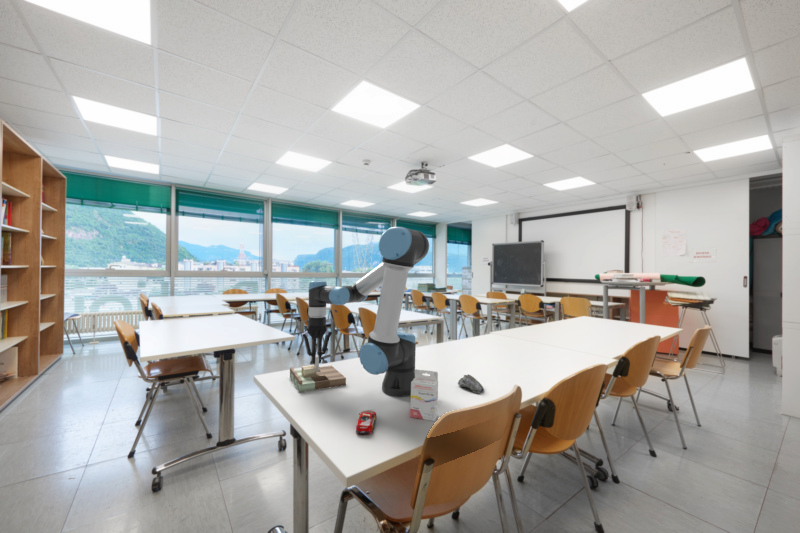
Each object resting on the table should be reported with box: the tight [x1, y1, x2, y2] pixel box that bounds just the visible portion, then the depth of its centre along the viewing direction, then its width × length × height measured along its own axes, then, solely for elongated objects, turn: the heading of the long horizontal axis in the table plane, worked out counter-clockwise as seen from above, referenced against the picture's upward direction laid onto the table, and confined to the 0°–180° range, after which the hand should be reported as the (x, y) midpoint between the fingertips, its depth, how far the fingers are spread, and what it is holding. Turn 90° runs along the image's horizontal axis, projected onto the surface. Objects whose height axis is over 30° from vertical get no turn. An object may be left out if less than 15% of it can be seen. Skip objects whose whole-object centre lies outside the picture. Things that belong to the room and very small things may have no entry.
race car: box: [355, 410, 377, 435], centre depth 102 cm, size 13×5×4 cm, turn 176°
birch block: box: [301, 364, 316, 378], centre depth 140 cm, size 5×5×4 cm
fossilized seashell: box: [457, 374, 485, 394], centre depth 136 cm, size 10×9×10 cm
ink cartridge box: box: [409, 368, 439, 422], centre depth 109 cm, size 9×5×15 cm, turn 73°
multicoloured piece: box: [289, 365, 347, 393], centre depth 142 cm, size 20×19×4 cm
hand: (316, 370), depth 142 cm, fingers closed
